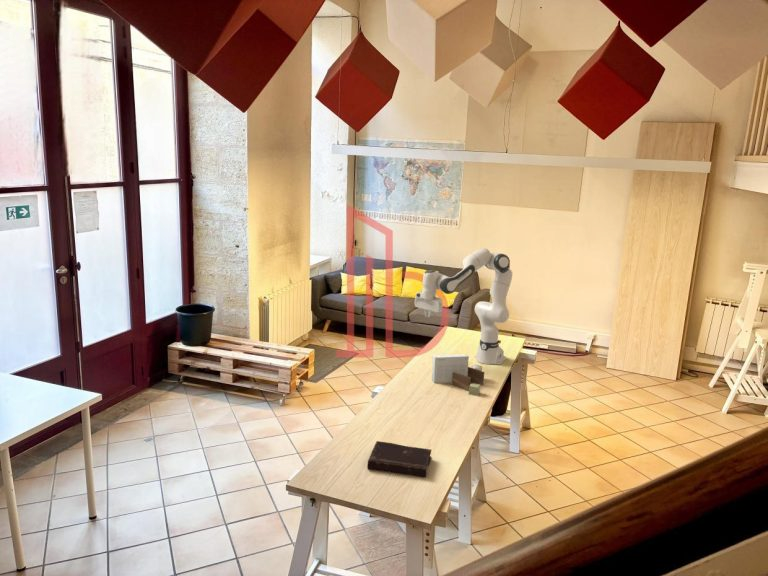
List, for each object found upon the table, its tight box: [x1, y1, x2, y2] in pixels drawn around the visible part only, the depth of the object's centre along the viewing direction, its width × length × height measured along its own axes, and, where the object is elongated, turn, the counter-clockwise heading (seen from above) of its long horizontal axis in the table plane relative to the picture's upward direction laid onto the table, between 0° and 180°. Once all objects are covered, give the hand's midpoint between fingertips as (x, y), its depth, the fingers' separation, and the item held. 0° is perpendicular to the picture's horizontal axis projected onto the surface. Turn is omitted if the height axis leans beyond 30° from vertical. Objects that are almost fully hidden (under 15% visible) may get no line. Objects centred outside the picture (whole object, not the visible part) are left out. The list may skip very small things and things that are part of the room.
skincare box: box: [431, 353, 470, 384], centre depth 356 cm, size 21×5×16 cm, turn 102°
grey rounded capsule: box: [471, 364, 483, 371], centre depth 362 cm, size 6×6×8 cm
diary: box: [367, 440, 432, 478], centre depth 259 cm, size 19×25×5 cm
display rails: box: [451, 366, 485, 392], centre depth 351 cm, size 15×12×8 cm
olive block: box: [468, 382, 481, 397], centre depth 339 cm, size 5×5×5 cm
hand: (427, 316), depth 380 cm, fingers closed
